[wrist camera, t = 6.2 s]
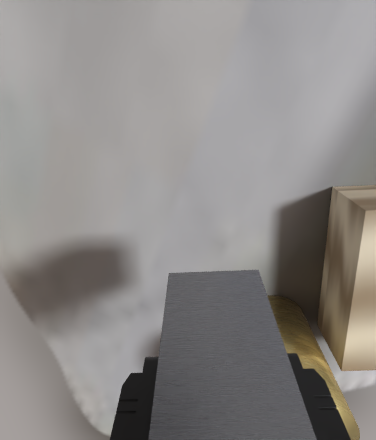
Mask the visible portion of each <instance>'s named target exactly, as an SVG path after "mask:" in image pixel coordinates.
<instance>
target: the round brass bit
mask: <svg viewBox="0 0 376 440" xmlns="http://www.w3.org/2000/svg"><path fill="white" fill-rule="evenodd" d="M267 297H268V300H269V302H270V305H271V308H272V311H273V314H274V317H275V320H276V323H277V326H278V329H279V332H280V334H281V337H282V340H283V343H284V346H285V349H286V352H287V353H297V355H298V357H299V359H300V362H301V364H302V367H303V369H311V368H314V369H315V370H316V371H317V372H318V373H319V375H320V376H321V377H322V378H323V379H324V380H325V381H326V384H327V386H328V388H329V391H330V393H331V396H332V398H333V400H334V402H335V404H336V406H337V410H338V411H339V413H340V416H341V418H342V420H343V422H344V425H345V427H346V429H347V432H348V434H349V436H350V438H351V440H359V438H360V433H359V428H358V425H357V423H356V421H355V419H354V417H353V415H352V413H351V411H350V409H349V407H348V404H347V402H346V401H345V398H344V396H343V394H342V392H341V390H340V388H339V386H338V384H337V382H336V380H335V378H334V376H333V373H332V371H331V369H330V367H329V365H328V363H327V361H326V359H325V357H324V355H323V353H322V351H321V349H320V347H319V344H318V342H317V340H316V338H315V336H314V334H313V332H312V330H311V328H310V326H309V324H308V322H307V320H306V318H305V316H304V313H303V312H302V310H301V308H300V307H299V306H298V305H297V304H296V303H295V302H293V301H292V300H290V299H288V298H285V297H281V296H267Z"/></svg>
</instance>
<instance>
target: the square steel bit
mask: <svg viewBox="0 0 376 440" xmlns="http://www.w3.org/2000/svg"><path fill="white" fill-rule="evenodd" d="M148 440H317V439H316V436H315V433H314V431H313V428H312V425H311V422H310V419H309V416H308V413H307V410H306V407H305V404H304V401H303V398H302V396H301V393H300V390H299V387H298V384H297V381H296V378H295V375H294V372H293V369H292V366H291V364H290V361H289V358H288V355H287V352H286V349H285V346H284V343H283V340H282V337H281V334H280V332H279V329H278V326H277V323H276V320H275V317H274V314H273V311H272V308H271V305H270V302H269V300H268V297H267V294H266V291H265V288H264V285H263V282H262V279H261V276H260V273H259V270H241V271H214V272H188V273H169V276H168V284H167V293H166V301H165V309H164V317H163V325H162V333H161V341H160V350H159V358H158V366H157V374H156V382H155V390H154V399H153V407H152V415H151V423H150V431H149V439H148Z"/></svg>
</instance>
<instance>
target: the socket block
mask: <svg viewBox="0 0 376 440" xmlns="http://www.w3.org/2000/svg"><path fill="white" fill-rule="evenodd" d="M317 325H318V327H319V329H320V331H321V333H322V334H323V336H324V338H325V340H326V342H327V344H328V346H329V348H330V350H331V352H332V354H333V356H334V358H335V359H336V361H337V363H338V365H339V367H340V369H341V371H361V370H376V185H365V186H342V187H332V195H331V204H330V213H329V222H328V231H327V240H326V249H325V259H324V268H323V277H322V286H321V295H320V304H319V313H318V322H317Z"/></svg>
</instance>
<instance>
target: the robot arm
mask: <svg viewBox="0 0 376 440" xmlns="http://www.w3.org/2000/svg"><path fill="white" fill-rule="evenodd" d="M287 355H288V358H289V361H290V364H291V366H292V369H293V372H294V375H295V378H296V381H297V384H298V387H299V390H300V393H301V396H302V398H303V401H304V404H305V407H306V410H307V413H308V416H309V419H310V422H311V425H312V428H313V431H314V433H315V436H316V439H317V440H351V438H350V436H349V434H348V432H347V429H346V427H345V425H344V422H343V420H342V418H341V416H340V413H339V411H338V410H337V406H336V404H335V402H334V400H333V398H332V396H331V393H330V391H329V388H328V386H327V384H326V381H325V380H324V379H323V378H322V377H321V376H320V375H319V373H318V372H317V371H316V370H315V369H314V368H311V369H303V367H302V364H301V362H300V359H299V357H298V355H297V353H287ZM158 358H159V357H146V358H145V362H144V367H143V373H131V374H130V375H129V377H128V378H127V380H126V381H125V382H124V384H123V385H122V389H121V394H120V398H119V403H118V407H117V411H116V415H115V420H114V424H113V429H112V433H111V437H110V440H148V439H149V431H150V423H151V415H152V407H153V399H154V390H155V382H156V374H157V366H158Z"/></svg>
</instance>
